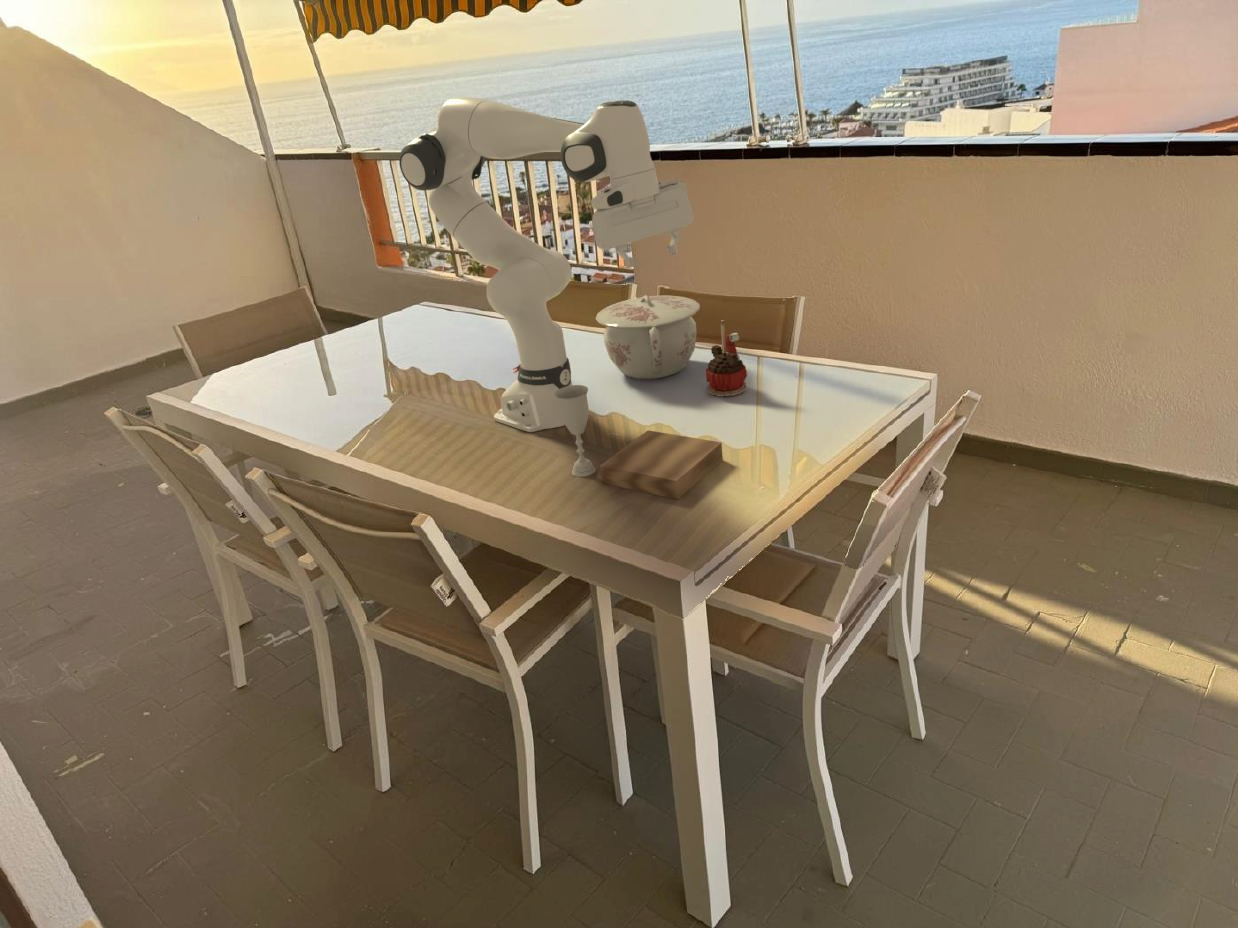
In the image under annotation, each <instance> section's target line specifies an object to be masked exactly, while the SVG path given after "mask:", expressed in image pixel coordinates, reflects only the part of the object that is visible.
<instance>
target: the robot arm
mask: <svg viewBox="0 0 1238 928" xmlns="http://www.w3.org/2000/svg"><path fill="white" fill-rule="evenodd" d="M437 117H438V118H437V128H435V129H433V130H432V131H430V132H428V133H423V134H421V135H419V136H418V137H415V138H413V139H412V140H411V141H410V142H408V143H407V144H406V145H405V146H404V147H403V148H402V149H401V151H400V154H399V160H398V162H399V168H400V171H401V174H402V177H403V178H404V179H405V181H406V182H407V183H408V185H410V187H412V188H414V189H415V190H417V191H430V193H429V195H428V204H429V207H430V209H431V211H432V212H433V214H434V216H435V217H436V218H437V220H438V221H439V222H440V224H441V225H442V226H443V227H444V229H445V230H446V231H447V232H448V233H449V234H450V235H451V237H452V238H453V239H454V240H455V241H456V242H457V243H458V244H459V245H460V246H461V247H462V248H463V249H464V250H465V251H466V252H467V253H468V255H470V256H471V258H473V259H474V260H475V261H476V262H477V263H479V264H481V265H483V266H488V267H492V268H494V269H496V270H498V271H497V272H496V273H495V274H494V275H493V276H492V277H491V278H490V279H489V281H488V283H487V285H486V298H487V301H488V304H489V306H491V308H492V309H493V310H494V311H495V312H496V313H497V314H499V315H501V317H504V318H505V320H506V321H507V323H508V324H509V326H510V329H511V330H512V333H513V335H514V339H515V342H516V348H517V352H518V357H519V361H520V363H519V364H518V365H517V366H516V367H514V368H512V370H514V371H513V374H516V373H517V379H515V381H514V382H513V383H512V384H511V385H509V386H508V388H506V390H504V391H503V393H502V395H501V398H500V399H501V400H500V402H501V403H500V404H501V408H500V409H499V410H497V411H496V412H495V414H494V415H493V420H494V421H495V422H497V423H501V424H503V425H506V426H510V427H511V428H512V427H513V428H516V429H518V430H522V431H524V432H527V433H533V432H538V431H542V430H546V429H554V428H560V427H563V426H566V425H565V424H564V422H563V420H562V418H561V415H560V409H559V403H558V399H557V398H556V396H555V392H556V391H557V390H559V389H561V388H563V387H566V386H571V385H573V381H572V374H571V373H572V370H571V362H570V359H569V358H568V357H567V350H566V345H565V338H564V332H563V329H562V326H561V325H560V324H559V323H557V322H556V321H554V320H553V319H552V317H551V315H550V313H549V311H548V307H547V302H548V301H550V300H552V299H553V298H556V297H557V296H559V295H560V294H561V293H562V292H563V291H564V289H565V288H566V287H567V286H568V284H570V281H571V278H572V267H571V264H570V262H569V260H568V259H567V257H566V256H565V255H564V254H563V253H561V252H559V251H557V250H553V249H551V248H550V249H549V248H547V247H545V246H542V245H541V244H539V243H537V242H535V241H533V240H531V239H530V238H528V237H527V236H525V235H524V234H522V233H520V232H519V231H517V230H516V229H515V228H513V227H512V226H511V225H510V224H509V223H508V222H507V221H506V220H505V219H504V217H502V216H501V215H500V214H499V213H498V212H497V211H496V210H495V209H494V208H493V207H492V206H491V205H490V204H489V203H488V201H486V199H484V198H483V197H482V196H481V195H480V194H479V193H478V192H477V190H475V188H474V185H473V181H474V180H477V179H479V178H480V177H481V175H482V169H483V166H484V164H485V163H486V160H487V158H488V159H493V160H512V159H517V158H522V157H525V156H530V155H535V154H539V153H546V152H547V153H548V152H558V153H560V161H561V165H562V167H563V170H564V172H565V173H566V174H567V176H569V178H571V179H572V180H574V181H576V182H579V183H583V182H584V183H588V182H593V181H596V180H600V179H604V178H607V177H609V179H610V180H609V181H610V184H611V185H609V186H608V187H607V188H606V189H604V190H603V191H601V192H600V193H598V194H597V195H595V196H594V197H593V198H592V199H591V200H590V204H591V207H592V209H593V210H596V211H594V213H593V215H592V219H591V221H592V231H593V235H594V237H593V238H594V242H595V245H596V246H597V248H598V249H600V250H601V251H602V250H603V251H607V250H611V249H614V248H615V252H616V253H617V254H618V256H620V258H622V260H623V262H624V265H625V266H624V267H625V268H626V269H631V268H633V267H636V262H635V257H634V256H630V257H629V255H628V253H626V251H627V246H626V245H628V244H630V243H634V242H638V241H641V240H644V239H647V238H651V237H655V236H658V235H661V234H664V233H667V232H668V234H669V235H668V236H670V237H671V239H670V243H669V245H666V250H667V254H668V255H669V256H673V255H675V254H676V255H677V254H678V252H679V249H678V245H677V244H678V242H679V238H680V236H681V235H680V234H681V233H680V228H682V229H683V228H684V227H687V226H691V225H693V222H694V219H695V216H694V212H693V209H692V206H691V203H690V199H689V197H688V188H687V185H686V183H685V182H684V181H683V180H682V179H678V178H676V177H675V178H672V179H670V180H666V181H661V182H659V179H658V175H657V171H656V166H655V163H654V162H653V159H652V156H651V151H650V150H651V143H650V138H649V134H648V129H647V126H646V123H645V120H644V116H643V113H642V111H641V109H640V107H639V106H638V104H637V103H636V102H634V101H632V100H628V99H626V100H625V99H624V100H623V99H622V100H615V101H606V102H603V103H601V104H599V105H598V106H596V109H595V111H594V113H593V114H592V115H591V117H590V118H589V119H588V120H587V121H586V122H585V123H583V122H577V121H571V120H566V119H560V118H556V117H555V118H554V117H549V116H546V115H542V114H540V113H536V112H531V111H528V110H525V109H521V108H518V107H515V106H512V105H508V104H505V103H501V102H497V101H494V100H491V99H490V100H489V99H485V98H478V97H468V96H467V97H466V96H464V97H463V96H461V97H452V98H450V99H448V100H447V101H445V102H444V103H443V105H441V107H440V110H439V112H438V116H437Z"/></svg>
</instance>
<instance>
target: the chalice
mask: <svg viewBox="0 0 1238 928" xmlns="http://www.w3.org/2000/svg"><path fill="white" fill-rule="evenodd" d="M588 391H589V388H588V387H587V386H586V385H581V384H574V385H573V384H572V385H571V386H566V387H563V388H561V389H559V390H557V391H556V392H555V396H556V398H557V399H558V403H559V409H560V415H561V418H562V420H563V422H564V424H565V425H564V426H566V428H567V429H568V431H569V433H570V434H571V435H575V437H576V439H575V444H576V446H577V449H576V453H578V456H579V457H578V459H576V461H574V464H573V467H572V472H571V474H572V476H575V477H580V478H583V477H588V476H591V475H592V474H594V473H596V467H595V466H594V464H593V463H592V460H590V459H588V458H586V457H585V456H584V453H585V449H584V448H583V443H584V441H583V440H582V437H581V434H583V433H584V432H585V431H586V426H587V423H588V420H589V412H590V411H589V409H590V408H589V402H588V397H587V394H588Z"/></svg>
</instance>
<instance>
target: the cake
mask: <svg viewBox="0 0 1238 928" xmlns="http://www.w3.org/2000/svg"><path fill="white" fill-rule="evenodd" d="M725 325H726V324H725V320H723V319H722V320H720V333H721V335H720V337H721V345H718V344H715V345H712V347H711V354H712V357H713V358H712V359H711V360H709V362H708V363H707V367H706V369H705V373H706V374H705V375H706V376H705V377H706V382H707V383H708V384H709V385H707V388H706V389H707V393H709V394H710V395H712V396H714V395H716V396H717V397H719V396H721V397H723V396H724V397H727V396H728V397H729V396H735V395H740V394H742V392H745V390H747V383H746V381H745V380H746V379H747V377H748V373H747V372H748V370H747V368H746V365H745V364H744V362H743V360H742V359H740V357H741V356H740V355H739V354H738V352H737V348H736V347H737V346H736V345H735V343H736V342H737V341H739V340H740V335H739V333H737V332H733V333H729V334H726V326H725Z"/></svg>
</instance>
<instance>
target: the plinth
mask: <svg viewBox="0 0 1238 928" xmlns="http://www.w3.org/2000/svg"><path fill="white" fill-rule="evenodd" d="M722 445H723V444H722V441H714V440H709V439H702V438H696V437H690V436H684V435H677V434H673V433H668V432H661V431H653V430H649V429H648V430H647V431H645V432H644V433H642V434H640V435H639V436H638V437H637V438H635V439H634V440H632V442H630V443H628V444H627V445H626V446H625V447H623V448H622V449H620V450H619V451H618V452H616V453H615V454H614V455H612V456H611V457H609V458H608V459H607V460H606V461H604V462H603V463H601V464H600V465H599V469H600V475H601V481H602V483H601V484H604V483H605V485H609V486H614V487H618V488H619V487H620V488H624V489H628V490H632V491H637V492H642V493H645V494H646V493H647V494H652V495H656V496H661V497H665V498H670V499H671V498H672V499H676V500H679V499H680V498H682V497H683V496H684V495H685V494H686V493H687V492H689V490H690V489H692V488H693V487H694V486H695V485H696V484H697V483H699V482H700V481H701V480H702V479H703V478H704V477H706V476H707V475H708V474H709V473H710V472H711V471H712V470H713V469H714V468H715V467H717V466H718V465H719V464H720V463H721V462H722V461H723V460H724V457H723V447H722Z"/></svg>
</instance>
